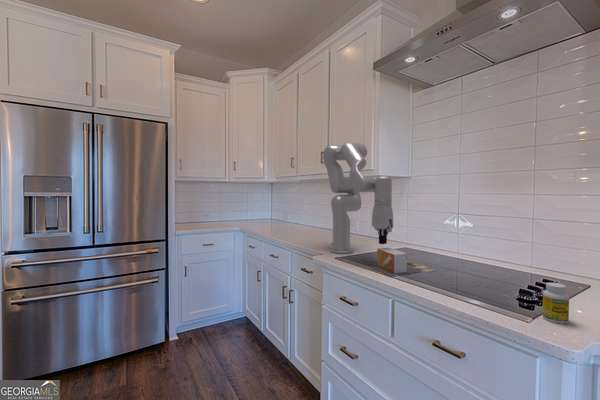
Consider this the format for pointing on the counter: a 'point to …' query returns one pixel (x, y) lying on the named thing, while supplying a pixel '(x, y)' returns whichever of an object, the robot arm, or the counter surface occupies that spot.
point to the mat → (386, 272)
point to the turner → (420, 267)
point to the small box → (392, 260)
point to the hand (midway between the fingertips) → (382, 243)
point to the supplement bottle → (556, 303)
